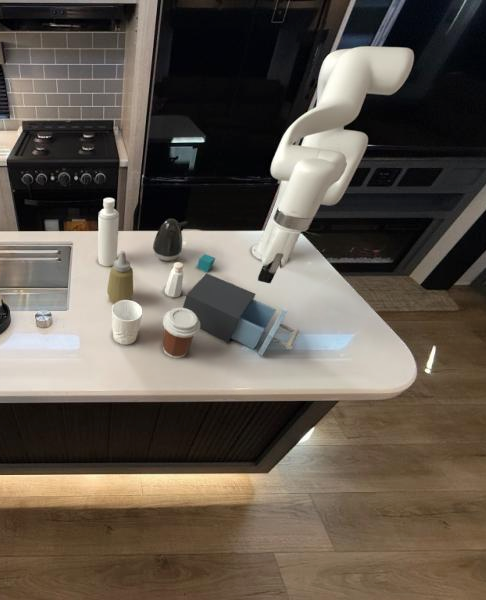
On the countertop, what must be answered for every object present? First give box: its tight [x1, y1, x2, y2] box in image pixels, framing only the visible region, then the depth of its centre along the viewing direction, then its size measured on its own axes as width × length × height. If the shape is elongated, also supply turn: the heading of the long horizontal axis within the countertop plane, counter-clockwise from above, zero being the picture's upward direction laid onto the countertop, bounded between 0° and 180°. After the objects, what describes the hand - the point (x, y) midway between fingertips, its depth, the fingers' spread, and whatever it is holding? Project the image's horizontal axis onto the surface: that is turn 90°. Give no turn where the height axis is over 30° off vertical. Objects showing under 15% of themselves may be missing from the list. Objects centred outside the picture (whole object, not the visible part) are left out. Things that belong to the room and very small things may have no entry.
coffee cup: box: [162, 307, 201, 359], centre depth 81 cm, size 9×9×12 cm
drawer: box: [231, 299, 300, 357], centre depth 84 cm, size 18×11×8 cm, turn 50°
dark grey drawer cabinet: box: [182, 272, 257, 344], centre depth 90 cm, size 15×13×10 cm
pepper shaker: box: [164, 262, 184, 298], centre depth 98 cm, size 5×5×11 cm
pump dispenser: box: [152, 218, 188, 262], centre depth 111 cm, size 10×10×15 cm
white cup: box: [111, 299, 143, 346], centre depth 85 cm, size 8×8×10 cm
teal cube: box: [196, 253, 216, 273], centre depth 110 cm, size 4×4×4 cm
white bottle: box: [97, 197, 120, 267], centre depth 106 cm, size 7×7×25 cm
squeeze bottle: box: [106, 250, 134, 305], centre depth 93 cm, size 8×8×18 cm
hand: (264, 280), depth 84 cm, fingers closed
